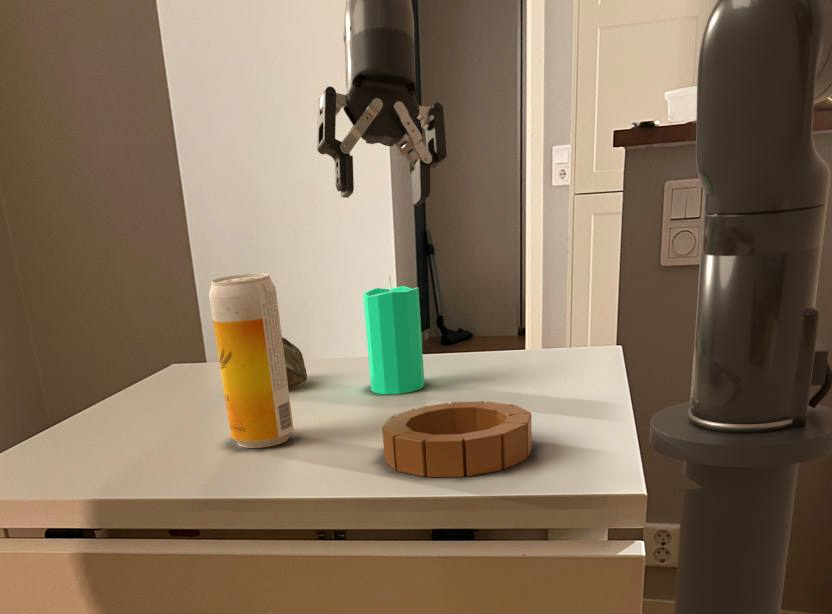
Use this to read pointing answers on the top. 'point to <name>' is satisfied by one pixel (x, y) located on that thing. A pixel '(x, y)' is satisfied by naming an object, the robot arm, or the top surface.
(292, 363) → the fossilized seashell
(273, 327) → the beer can
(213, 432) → the top surface
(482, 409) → the brown segmented block ring
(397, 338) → the candle
